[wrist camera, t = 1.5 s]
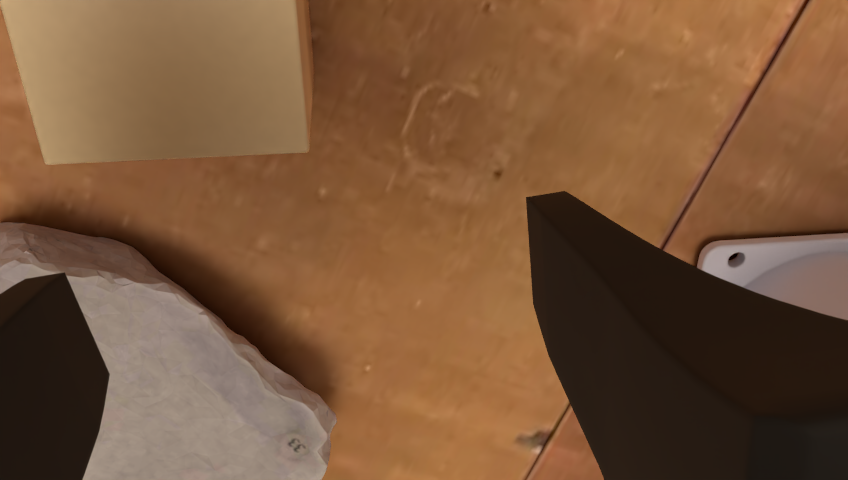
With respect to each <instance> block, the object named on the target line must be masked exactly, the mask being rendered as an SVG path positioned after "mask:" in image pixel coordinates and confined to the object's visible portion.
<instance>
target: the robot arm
mask: <svg viewBox="0 0 848 480" xmlns="http://www.w3.org/2000/svg"><path fill="white" fill-rule="evenodd" d="M526 203H527V218H528V232H529V247H530V262H531V277H532V291H533V305H534V308H535V311H536V315H537V318H538V322H539V325H540V329H541V332H542V335H543V338H544V342H545V345H546V348H547V351H548V355H549V357H550V359H551V362H552V364H553V366H554V368H555V371H556V373H557V375H558V377H559V380H560V382H561V384H562V386H563V388H564V391H565V393H566V395H567V397H568V399H569V402H570V404H571V406H572V408H573V410H574V412H575V415H576V417H577V419H578V421H579V423H580V426H581V428H582V430H583V432H584V434H585V436H586V439H587V441H588V443H589V445H590V447H591V450H592V452H593V454H594V456H595V458H596V460H597V463H598V465H599V467H600V470H601V472H602V475H603V477H604V480H848V233H838V234H821V235H804V236H787V237H770V238H753V239H736V240H719V241H714V242H711V243H709V244H708V245H706V246H705V247H704V248H703V249H702V251H701V253H700V255H699V259H698V264H697V268H696V267H694V266H692V265H690V264H688V263H686V262H684V261H682V260H680V259H678V258H676V257H674V256H672V255H670V254H668V253H666V252H665V251H663V250H661V249H659V248H657V247H655V246H654V245H652V244H650V243H648V242H647V241H645V240H643V239H641V238H640V237H638V236H636V235H635V234H633V233H631V232H630V231H628V230H626V229H625V228H623V227H621V226H620V225H618V224H616V223H615V222H613V221H612V220H610V219H608V218H607V217H605V216H604V215H602V214H601V213H599V212H598V211H596V210H594V209H593V208H591V207H590V206H588V205H587V204H585V203H584V202H582V201H580V200H579V199H577V198H576V197H574V196H572V195H571V194H569V193H567V192H565V191H562V192H556V193H550V194H544V195H538V196H532V197H526ZM738 252H739V254H738V256H737V257H736V258H734V259H733V260H729V261H728V259H729V257H730V256H731V255H733V254H734V253H738ZM109 376H110V373H109V371H108V369H107V367H106V364H105V362H104V360H103V358H102V355H101V353H100V351H99V349H98V346H97V344H96V342H95V340H94V337H93V335H92V333H91V331H90V328H89V326H88V324H87V322H86V319H85V317H84V315H83V312H82V310H81V308H80V306H79V303H78V301H77V299H76V297H75V294H74V292H73V290H72V288H71V285H70V283H69V281H68V279H67V276H66V274H65V272H64V273H58V274H52V275H45V276H39V277H33V278H27V279H24V280H22V281H21V282H19V283H17V284H15V285H13V286H12V287H10V288H9V289H7V290H6V291H4V292H3V293H1V294H0V480H83V477H84V474H85V471H86V469H87V466H88V463H89V460H90V457H91V454H92V451H93V448H94V446H95V443H96V439H97V436H98V433H99V430H100V425H101V421H102V416H103V411H104V406H105V400H106V394H107V388H108V382H109Z"/></svg>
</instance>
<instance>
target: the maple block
mask: <svg viewBox="0 0 848 480" xmlns="http://www.w3.org/2000/svg"><path fill="white" fill-rule="evenodd" d="M0 5H1V9H2V13H3V16H4V20H5V23H6V27H7V31H8V34H9V38H10V41H11V45H12V48H13V52H14V56H15V59H16V63H17V66H18V70H19V73H20V77H21V81H22V84H23V88H24V91H25V95H26V99H27V102H28V106H29V109H30V113H31V116H32V120H33V124H34V127H35V131H36V134H37V138H38V141H39V145H40V149H41V152H42V156H43V159H44V163H45V164H47V165H52V164H74V163H95V162H117V161H138V160H159V159H181V158H202V157H224V156H245V155H267V154H288V153H306V152H308V151H309V147H310V130H311V114H312V97H313V81H314V63H313V50H312V38H311V25H310V13H309V0H0Z"/></svg>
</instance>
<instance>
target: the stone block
mask: <svg viewBox="0 0 848 480" xmlns="http://www.w3.org/2000/svg"><path fill="white" fill-rule="evenodd" d="M64 272H65V274H66V276H67V279H68V281H69V283H70V285H71V288H72V290H73V292H74V294H75V297H76V299H77V301H78V303H79V306H80V308H81V310H82V312H83V315H84V317H85V319H86V322H87V324H88V326H89V328H90V331H91V333H92V335H93V337H94V340H95V342H96V344H97V346H98V349H99V351H100V353H101V355H102V358H103V360H104V362H105V364H106V367H107V369H108V371H109V373H110V376H109V382H108V388H107V394H106V400H105V406H104V411H103V416H102V421H101V425H100V430H99V433H98V436H97V439H96V443H95V446H94V448H93V451H92V454H91V457H90V460H89V463H88V466H87V469H86V471H85V474H84V477H83V480H321V479H322V477H323V476H324V474H325V471H326V469H327V465H328V461H329V456H330V447H331V443H330V433H331V431H332V429H333V427H334V425H335V424H336V422H337V419H336V416H335V413H334V412H333V411H332V410H331V409H330V408H329V406H328V405H327V404H326V403H325V402H324V401H323V399H322V398H321V397H320V396H319V394H317V393H315V392H313V391H310V390H308V389H306V388H305V387H304V386H303V385H302V384H300V383H299V382H298V381H297V380H296V379H295V378H294V377H292V376H290V375H288V374H286V373H284V372H283V371H281V370H280V369H279V368H277V367H276V366H274V365H273V364H271V363H270V362H269V361H268V360H267V359H266V358H265V357H264V356H263V355H262V354H261V353H260V352H259V350H258V349H257V347H255V346H254V345H252V344H250V343H249V342H248V341H247V340H246V339H245V338H244V337H243V336H241V335H238V334H235V333H234V332H233V331H232V330H230V329H229V328H228V327H227V326H226V325H225V323H224V322H223V321H222V319H221V318H219V317H218V316H217V315H215V314H214V313H213V312H211V311H210V310H209V309H207V308H206V307H205V306H203V305H202V304H201V303H200V302H198V301H197V300H196V299H195V298H194V297H193V296H192V295H190V294H189V293H188V292H187V291H186V290H185V289H184V288H182V287H181V286H179V285H177V284H176V283H174V282H173V281H171V280H170V279H169V278H167V277H166V276H164V275H163V274H161V273H160V272H158V271H157V270H156V269H155V268H154V267H153V266H152V265H151V263H150V262H149V261H148V260H147V259H146V258H145V257H144V256H143V255H141V254H140V253H139V252H138V251H137V250H136V249H134V248H133V247H132V246H129V245H126V244H124V243H121V242H119V241H116V240H113V239H109V238H105V237H91V236H86V235H81V234H76V233H72V232H67V231H63V230H58V229H54V228H49V227H44V226H39V225H31V224H26V223H13V222H4V223H0V294H1V293H3V292H4V291H6V290H7V289H9V288H10V287H12V286H13V285H15V284H17V283H19V282H21V281H22V280H24V279H27V278H33V277H39V276H45V275H52V274H58V273H64Z"/></svg>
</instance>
